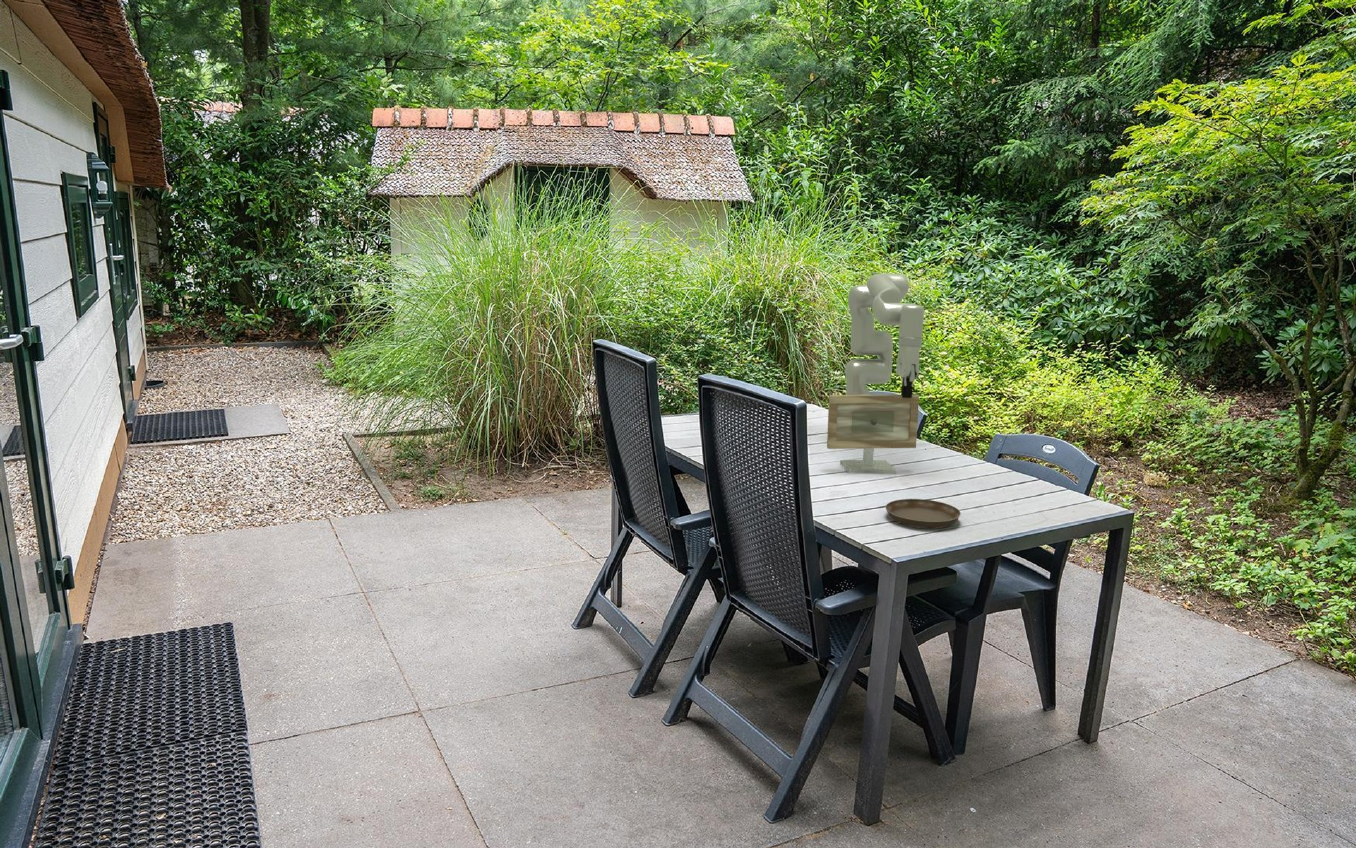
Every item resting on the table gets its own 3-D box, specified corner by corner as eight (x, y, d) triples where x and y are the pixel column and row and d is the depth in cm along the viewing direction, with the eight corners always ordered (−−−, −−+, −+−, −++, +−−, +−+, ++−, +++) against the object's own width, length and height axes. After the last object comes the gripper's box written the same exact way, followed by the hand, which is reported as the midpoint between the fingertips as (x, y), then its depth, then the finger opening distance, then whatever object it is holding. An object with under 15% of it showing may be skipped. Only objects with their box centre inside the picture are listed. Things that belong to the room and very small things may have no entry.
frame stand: (840, 464, 325) (843, 413, 321) (885, 464, 326) (889, 414, 322) (848, 473, 313) (852, 420, 309) (895, 473, 314) (899, 421, 310)
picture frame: (826, 447, 315) (829, 395, 311) (914, 446, 317) (917, 394, 313) (828, 449, 313) (830, 396, 309) (916, 448, 315) (919, 395, 311)
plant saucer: (915, 535, 252) (916, 523, 251) (870, 513, 270) (871, 502, 270) (975, 527, 260) (976, 516, 260) (927, 506, 279) (928, 495, 278)
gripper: (892, 340, 315) (888, 394, 319) (906, 344, 301) (902, 400, 304) (913, 340, 316) (910, 394, 319) (928, 344, 301) (924, 401, 304)
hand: (906, 397), depth 312 cm, fingers closed
